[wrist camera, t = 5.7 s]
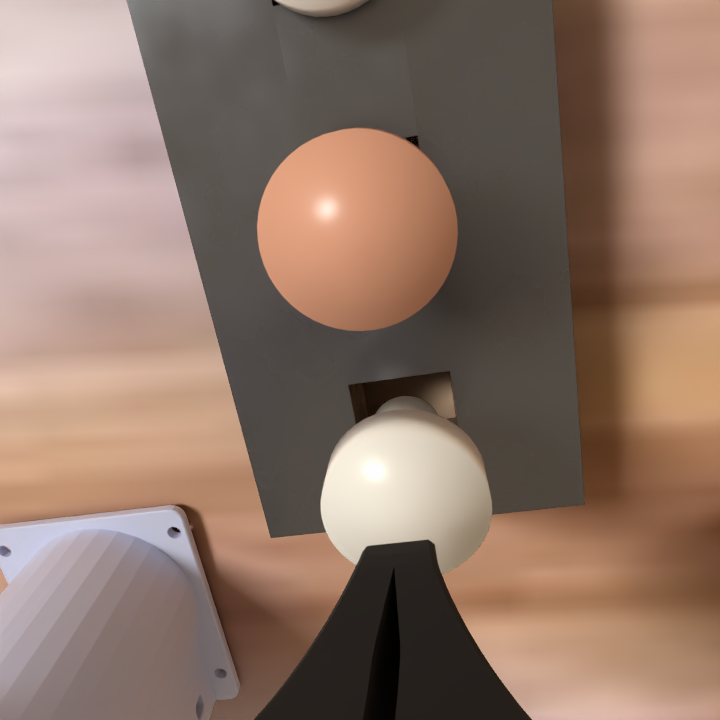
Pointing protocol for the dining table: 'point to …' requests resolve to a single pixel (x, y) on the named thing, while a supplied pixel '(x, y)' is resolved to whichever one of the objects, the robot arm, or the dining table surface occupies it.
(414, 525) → the knob
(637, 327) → the dining table surface
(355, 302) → the middle knob
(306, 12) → the knob
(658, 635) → the dining table surface
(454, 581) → the dining table surface
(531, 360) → the knob plate
